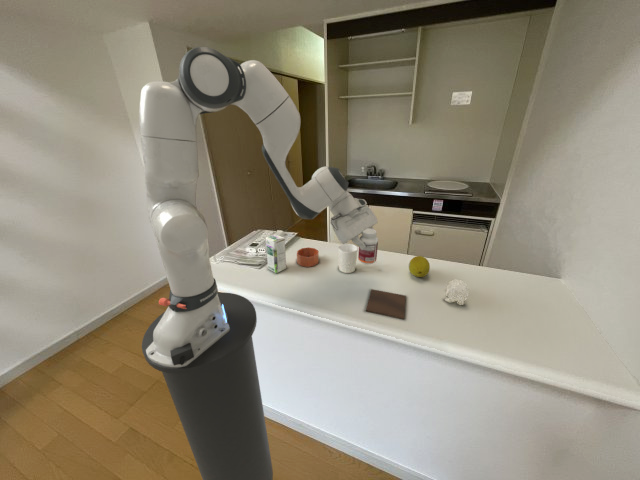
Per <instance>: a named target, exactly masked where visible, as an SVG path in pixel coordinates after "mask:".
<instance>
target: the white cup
mask: <svg viewBox="0 0 640 480" xmlns="http://www.w3.org/2000/svg"><path fill="white" fill-rule="evenodd" d="M337 252H338V253H337V255H338V256H337V257H338V258H337V259H338V270H339V271H340V272H341V273H345V274H351V273H354V272H355V271H356V265H357V259H358V252H359V246H358V245H356V244H354V243H346V244H343V243H341V244H340V245H338V247H337Z"/></svg>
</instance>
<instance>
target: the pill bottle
mask: <svg viewBox="0 0 640 480" xmlns="http://www.w3.org/2000/svg"><path fill="white" fill-rule="evenodd" d="M377 232H378V231H377V230H376V229H375V228H374V229H370V228H367V229H366V230H364V231H363V232H362V233H361V235H360V236H359V240H361V241H362V242H365V243H366V245H367V247H366V248H365V249H363V250H361V249H360V247H359V246H358V253H357V259H358V262H360V263H361V264H364V265H373V264H375V263H377V259H378V247H379V238H378V236H377V234H378V233H377ZM376 236H377V237H376Z"/></svg>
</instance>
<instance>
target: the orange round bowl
mask: <svg viewBox="0 0 640 480" xmlns="http://www.w3.org/2000/svg"><path fill="white" fill-rule="evenodd" d="M319 256H320V253H319V250H318V249H317V248H315V247H302V248H300V249H298V250H297V251H296V263H297V264H298V265H299V266H300V267H305V268H309V267H315V266H316V265H318V264H319V261H320V257H319Z"/></svg>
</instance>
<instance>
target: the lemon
mask: <svg viewBox="0 0 640 480" xmlns="http://www.w3.org/2000/svg"><path fill="white" fill-rule="evenodd" d="M430 267H431V265H430V262H429V260H428V258H427V257H424V256H422V255H416V256H413V257H412V258H411V259H410V261H409V262H408V271H409V272H410V274H411V275H412V276H414V277H416V278H424V277H426V276H427V275H428V274H429V272H430V269H431V268H430Z"/></svg>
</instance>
